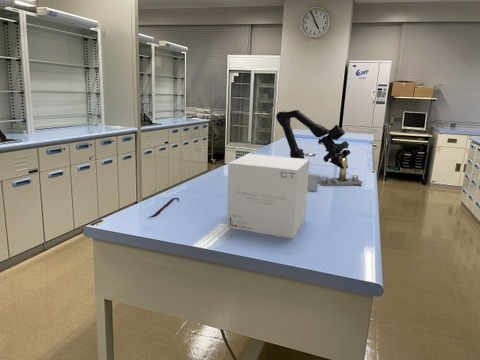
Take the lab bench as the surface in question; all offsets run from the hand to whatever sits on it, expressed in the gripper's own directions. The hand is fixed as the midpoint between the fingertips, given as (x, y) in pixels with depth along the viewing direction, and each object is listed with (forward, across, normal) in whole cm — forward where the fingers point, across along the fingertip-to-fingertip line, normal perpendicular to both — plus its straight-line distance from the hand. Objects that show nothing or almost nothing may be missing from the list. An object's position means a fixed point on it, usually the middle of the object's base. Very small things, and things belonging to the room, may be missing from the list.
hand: (345, 168), depth 202 cm
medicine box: (+4, -25, +10) cm, 27 cm away
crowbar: (-9, -98, +24) cm, 102 cm away
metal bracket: (+5, -1, +8) cm, 10 cm away
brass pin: (+4, 0, +6) cm, 7 cm away
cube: (+18, -77, -4) cm, 79 cm away
